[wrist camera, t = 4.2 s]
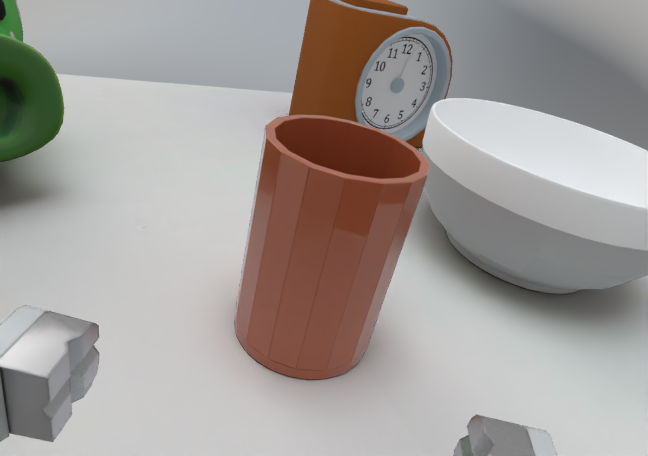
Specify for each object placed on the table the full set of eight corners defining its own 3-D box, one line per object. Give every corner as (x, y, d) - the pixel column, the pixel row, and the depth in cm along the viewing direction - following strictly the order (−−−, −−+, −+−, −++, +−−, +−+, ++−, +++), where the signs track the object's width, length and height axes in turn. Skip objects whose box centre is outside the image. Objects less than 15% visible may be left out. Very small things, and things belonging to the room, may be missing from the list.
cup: (390, 334, 26) (455, 162, 21) (311, 405, 21) (373, 199, 16) (294, 271, 29) (331, 108, 24) (205, 320, 24) (230, 125, 19)
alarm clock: (321, 151, 47) (356, -1, 40) (280, 119, 53) (305, -19, 46) (431, 149, 55) (474, 22, 48) (385, 121, 61) (418, 4, 54)
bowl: (546, 203, 48) (588, 118, 44) (707, 339, 33) (797, 228, 28) (367, 181, 43) (395, 83, 39) (456, 332, 27) (520, 194, 23)
